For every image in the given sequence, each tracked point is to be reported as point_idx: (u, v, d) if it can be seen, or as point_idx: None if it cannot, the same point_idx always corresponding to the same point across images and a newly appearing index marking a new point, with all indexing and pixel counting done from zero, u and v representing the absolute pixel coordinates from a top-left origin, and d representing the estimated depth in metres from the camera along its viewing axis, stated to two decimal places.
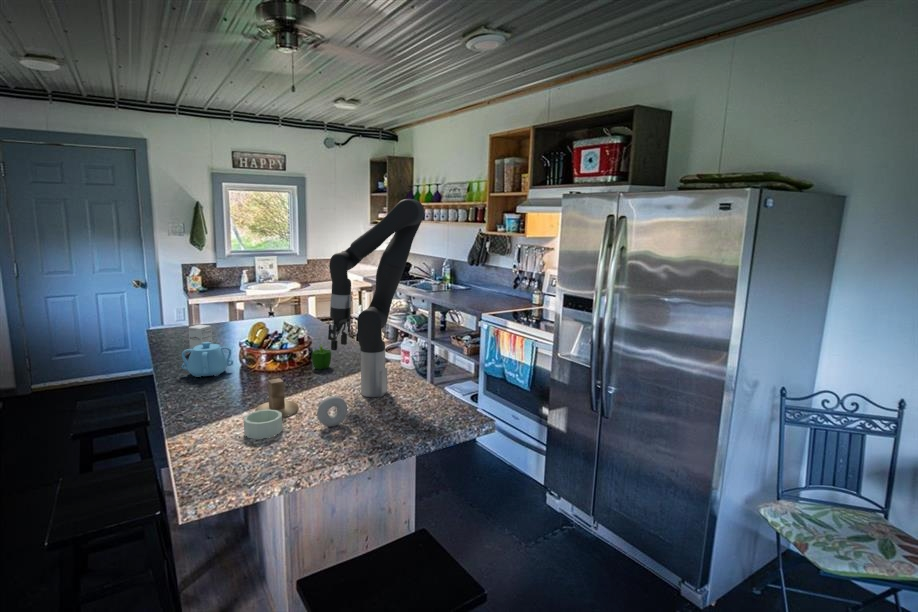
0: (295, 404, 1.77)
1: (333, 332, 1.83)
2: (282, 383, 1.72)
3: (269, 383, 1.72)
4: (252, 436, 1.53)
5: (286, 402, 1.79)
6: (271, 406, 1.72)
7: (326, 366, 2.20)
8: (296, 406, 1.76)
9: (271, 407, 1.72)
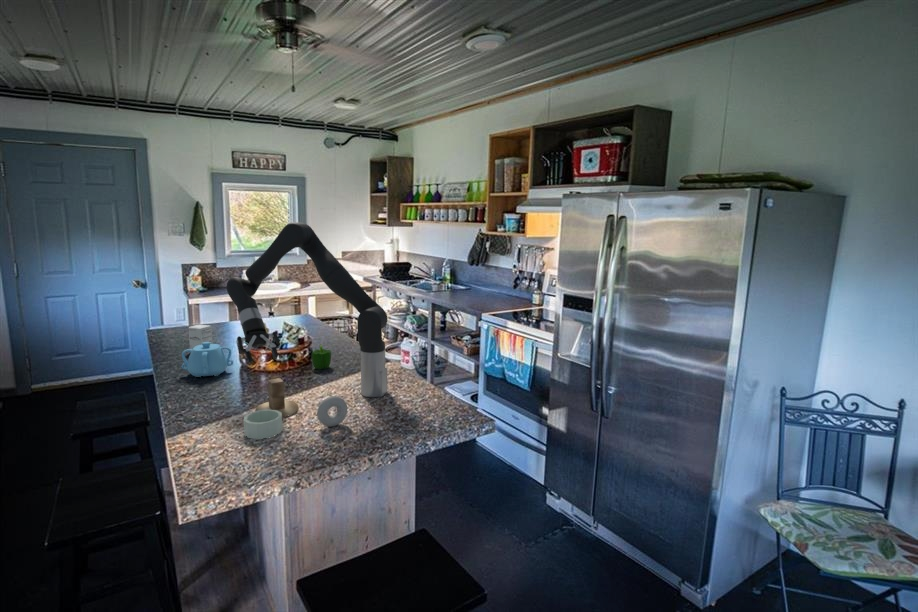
0: (295, 404, 1.77)
1: (238, 344, 1.79)
2: (282, 383, 1.72)
3: (269, 383, 1.71)
4: (252, 436, 1.53)
5: (286, 402, 1.79)
6: (271, 406, 1.72)
7: (326, 366, 2.20)
8: (296, 406, 1.76)
9: (271, 407, 1.72)
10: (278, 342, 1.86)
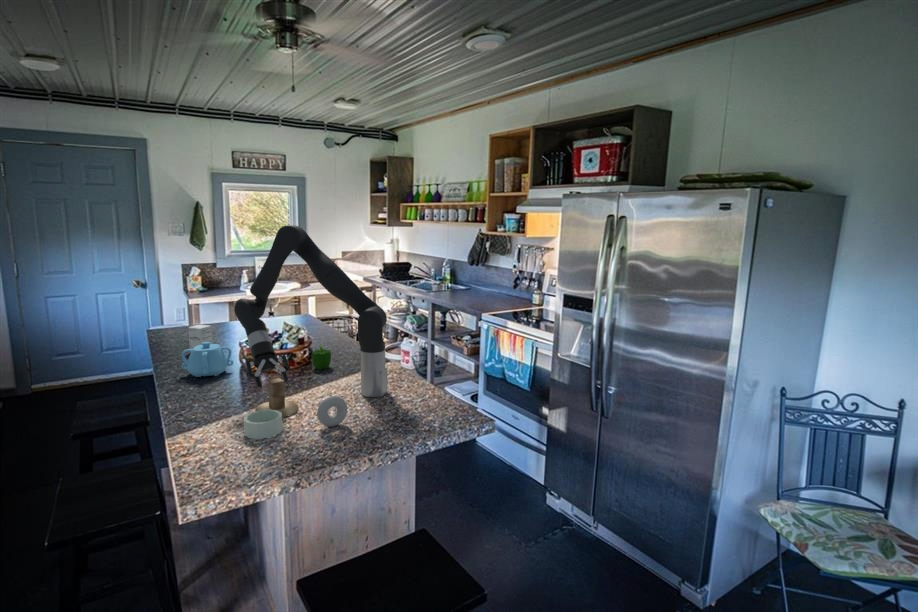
0: (295, 404, 1.78)
1: (247, 369, 1.73)
2: (283, 383, 1.72)
3: (270, 383, 1.71)
4: (252, 436, 1.53)
5: (286, 402, 1.79)
6: (271, 406, 1.72)
7: (326, 366, 2.20)
8: (296, 406, 1.76)
9: (271, 407, 1.72)
10: (288, 366, 1.80)
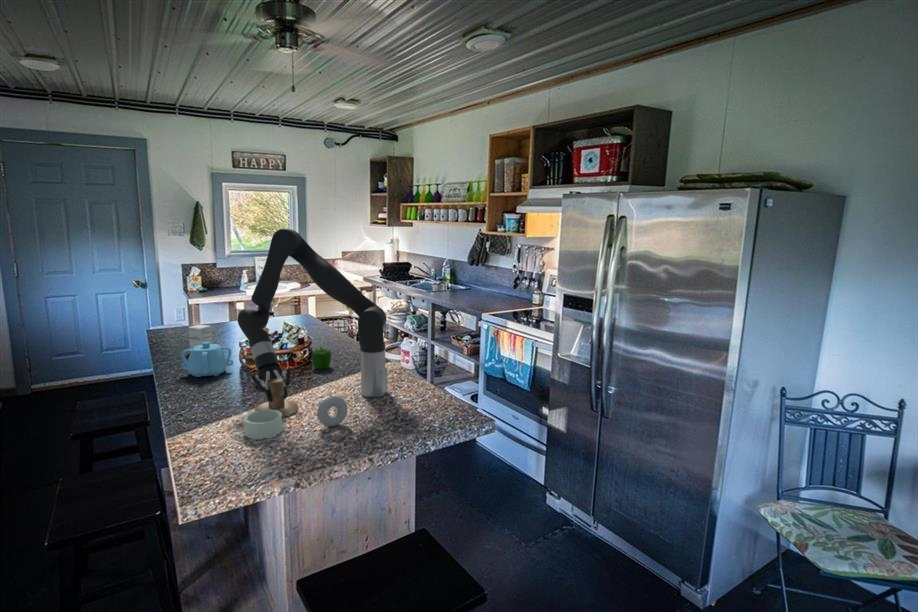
0: (295, 403, 1.78)
1: (255, 383, 1.71)
2: (282, 382, 1.72)
3: (269, 383, 1.71)
4: (252, 436, 1.53)
5: (285, 402, 1.79)
6: (271, 406, 1.72)
7: (326, 366, 2.20)
8: (296, 405, 1.76)
9: (271, 407, 1.72)
10: (287, 381, 1.76)
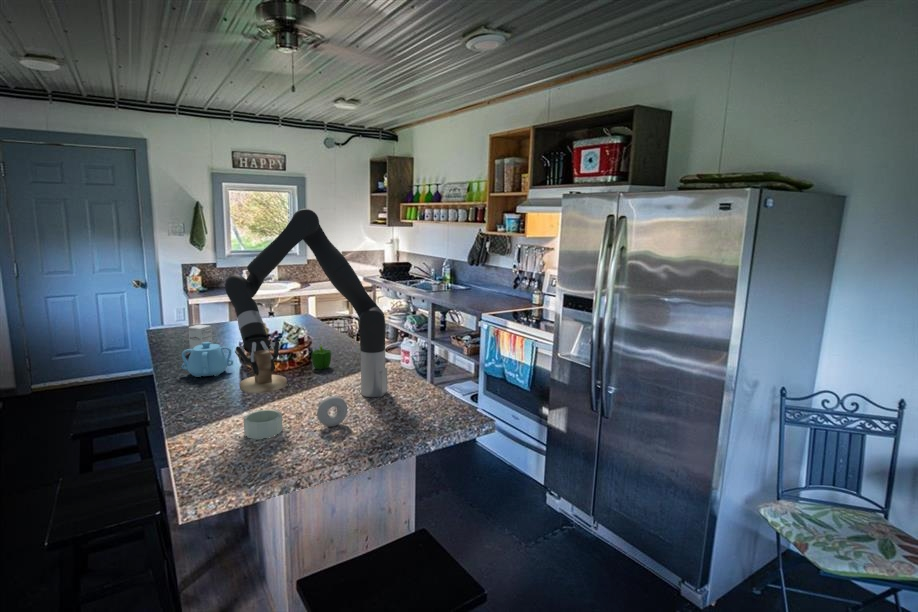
0: (283, 378, 1.64)
1: (240, 355, 1.57)
2: (269, 354, 1.58)
3: (255, 354, 1.58)
4: (252, 436, 1.53)
5: (274, 376, 1.65)
6: (257, 379, 1.59)
7: (326, 366, 2.20)
8: (284, 380, 1.62)
9: (257, 381, 1.59)
10: (276, 353, 1.62)
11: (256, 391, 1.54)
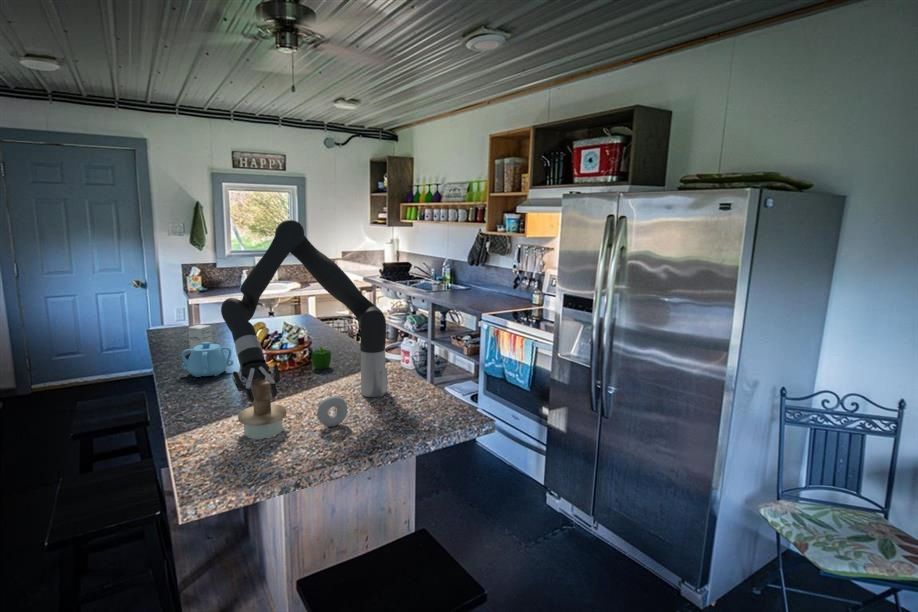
0: (283, 408, 1.60)
1: (235, 380, 1.53)
2: (268, 385, 1.55)
3: (253, 385, 1.54)
4: (252, 436, 1.53)
5: (273, 406, 1.62)
6: (256, 411, 1.55)
7: (326, 366, 2.20)
8: (284, 411, 1.58)
9: (256, 412, 1.55)
10: (277, 377, 1.59)
11: (255, 423, 1.50)
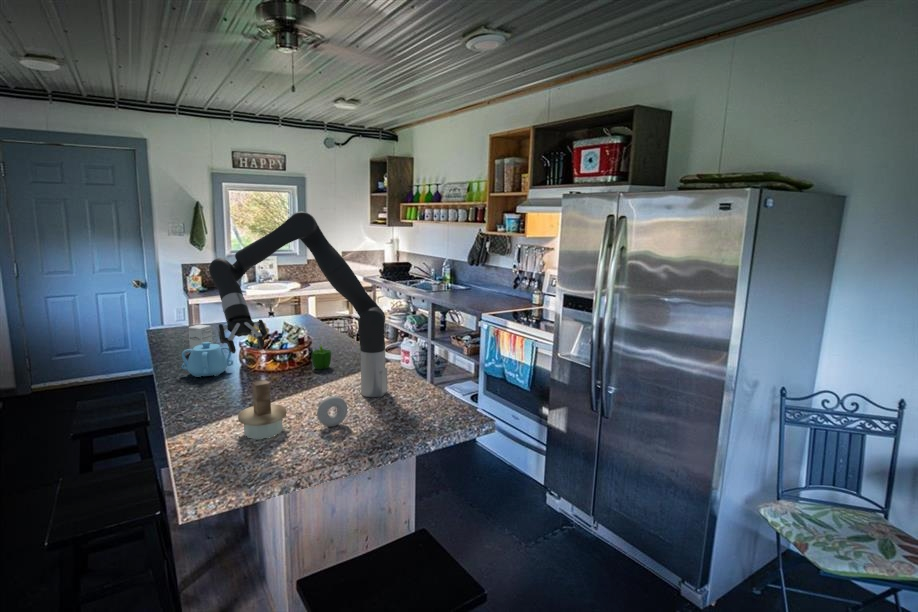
0: (283, 408, 1.60)
1: (219, 332, 1.61)
2: (268, 385, 1.55)
3: (253, 385, 1.54)
4: (252, 436, 1.53)
5: (273, 406, 1.62)
6: (256, 411, 1.55)
7: (326, 366, 2.20)
8: (284, 411, 1.58)
9: (256, 412, 1.55)
10: (264, 331, 1.68)
11: (255, 423, 1.50)
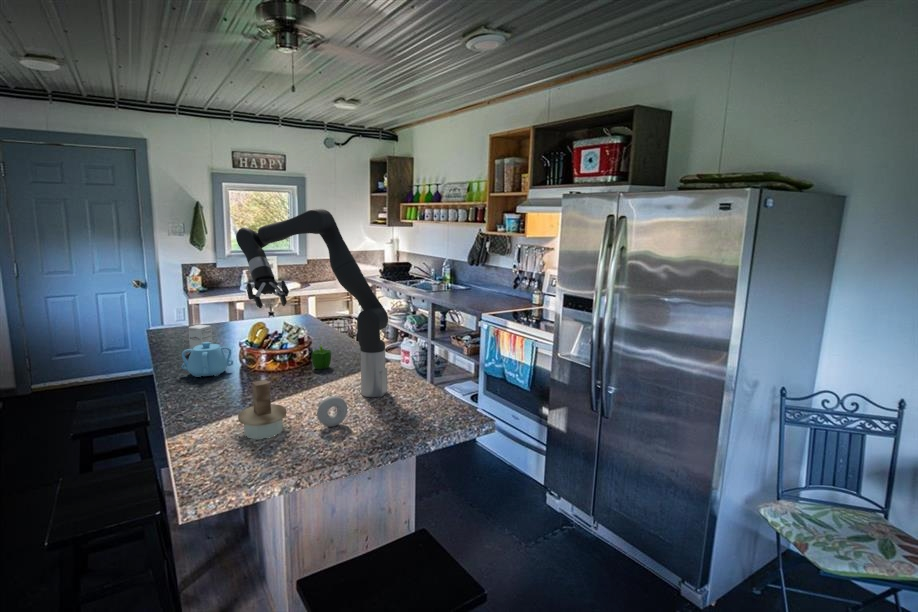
0: (283, 408, 1.60)
1: (248, 289, 1.83)
2: (268, 385, 1.55)
3: (253, 385, 1.54)
4: (252, 436, 1.53)
5: (273, 406, 1.62)
6: (256, 411, 1.55)
7: (326, 366, 2.20)
8: (284, 411, 1.58)
9: (256, 412, 1.55)
10: (287, 290, 1.90)
11: (255, 423, 1.50)
